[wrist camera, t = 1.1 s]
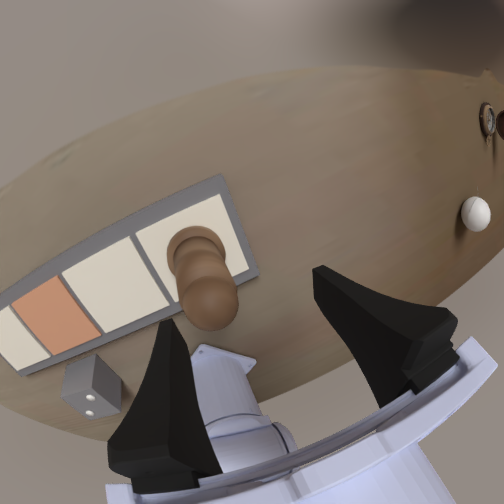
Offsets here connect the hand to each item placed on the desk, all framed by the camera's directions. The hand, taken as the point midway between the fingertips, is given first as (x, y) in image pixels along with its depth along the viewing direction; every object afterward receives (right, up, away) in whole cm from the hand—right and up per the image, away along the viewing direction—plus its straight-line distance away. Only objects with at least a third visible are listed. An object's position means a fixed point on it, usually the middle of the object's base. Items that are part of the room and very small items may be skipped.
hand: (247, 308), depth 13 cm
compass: (+41, +25, +17) cm, 51 cm away
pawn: (-5, +3, +10) cm, 11 cm away
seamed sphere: (+35, +11, +21) cm, 42 cm away
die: (-18, -11, +13) cm, 25 cm away
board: (-16, -2, +9) cm, 18 cm away
